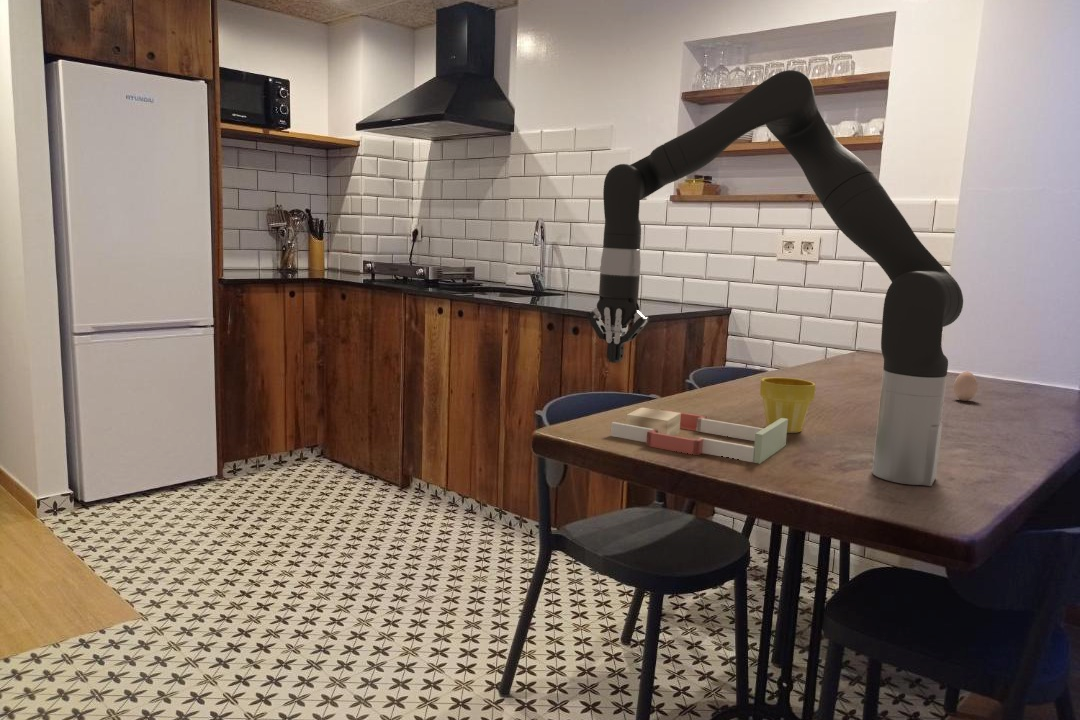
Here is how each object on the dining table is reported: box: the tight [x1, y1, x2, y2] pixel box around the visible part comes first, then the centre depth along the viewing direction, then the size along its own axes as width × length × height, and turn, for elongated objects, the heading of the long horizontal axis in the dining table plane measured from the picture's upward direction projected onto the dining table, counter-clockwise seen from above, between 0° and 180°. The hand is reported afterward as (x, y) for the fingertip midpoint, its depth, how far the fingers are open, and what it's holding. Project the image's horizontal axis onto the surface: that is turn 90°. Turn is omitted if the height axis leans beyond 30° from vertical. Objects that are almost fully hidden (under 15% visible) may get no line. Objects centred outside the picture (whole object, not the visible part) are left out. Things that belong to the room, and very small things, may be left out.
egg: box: [952, 371, 979, 402], centre depth 202 cm, size 5×5×7 cm
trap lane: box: [610, 408, 788, 465], centre depth 149 cm, size 28×20×5 cm
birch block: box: [625, 407, 681, 436], centre depth 154 cm, size 8×8×4 cm
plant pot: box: [759, 376, 816, 434], centre depth 161 cm, size 10×10×10 cm
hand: (614, 362), depth 157 cm, fingers closed
